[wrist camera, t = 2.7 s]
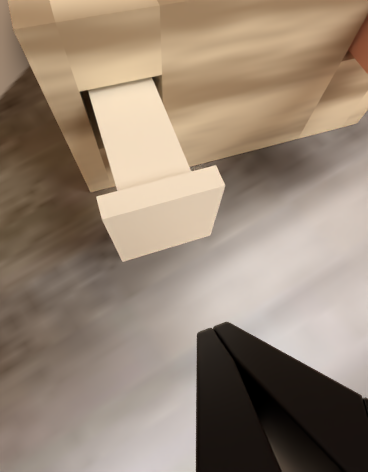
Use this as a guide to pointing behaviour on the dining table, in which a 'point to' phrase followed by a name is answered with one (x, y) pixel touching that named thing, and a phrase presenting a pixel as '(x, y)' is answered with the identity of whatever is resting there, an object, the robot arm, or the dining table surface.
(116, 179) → the cream plug
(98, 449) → the dining table surface
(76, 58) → the socket block
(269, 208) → the dining table surface
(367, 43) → the terracotta plug
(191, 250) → the dining table surface
